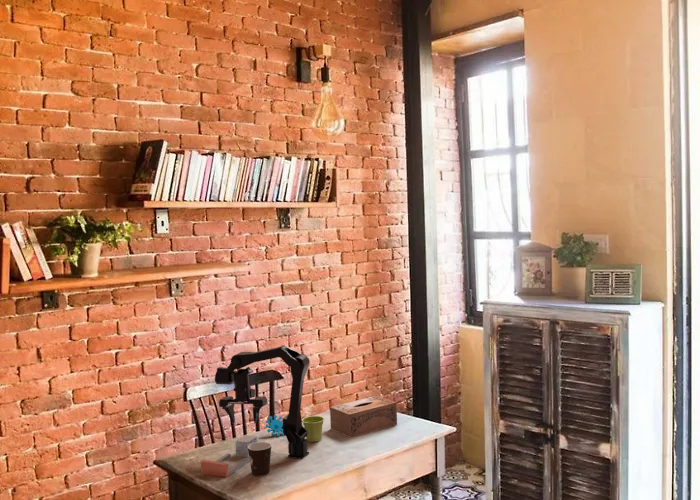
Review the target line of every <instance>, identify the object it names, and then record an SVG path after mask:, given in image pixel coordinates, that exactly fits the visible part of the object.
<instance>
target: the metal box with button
mask: <svg viewBox="0 0 700 500" xmlns="http://www.w3.org/2000/svg"><path fill="white" fill-rule="evenodd" d="M256 442H258V436H256V435H243V436H242V437H240V438H238V439H236V440H235V454H236V457H244V458H246V457H248V456H249V452H248V446H249V445H250V444H252V443H256Z"/></svg>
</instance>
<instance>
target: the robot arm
mask: <svg viewBox="0 0 700 500" xmlns="http://www.w3.org/2000/svg"><path fill="white" fill-rule="evenodd" d="M277 358H279V359H281V360H282V361H283V362H284V364H286V365H287V366H288V367H290V369H289V370H290V375H291V378H292V381H291V389H290V398H289V406H288V414H286V415H285V416H284V417H282V420H283V422H282V423H283V426H282V428H281V429H283V434H284V435H283V436H285V437H286V440H287V442H288V443H287V447H288V448H287V449H288V455H287V457H288V458H293V459H295V458H296V459H299V460H301V459H304V458H305V457H307V455H309V454H310V452H309V451H308V440H307V439H306V437H307V434H308V431H307V430H306V429H305V428H304V425H303V422H302V419H303V418H302V415H301V408H302V398H303V389H304V381H305V377H306V375H307V372H308V370H309V366H310V362H311V361H310V358H309V357H308V356H307V355H306V354H302V353H300V352H298V351H297V350H294V349H292V348H290V347H288V346H286V345H281V346H277V347H272V348H267V349H263V350H257V351H240V352H238V353H236V354H234V355H233V356H231V358H230V363H229V365H228V367H222V366H220V367H217V368H216V372H215V376H214V382H215V384H216V385H232V384H233V385H234V388H233V392H234V395H235V396H234V397H235V398H234V397H233V396H223V397H222V398H220V399H219V400H218V408H219V407H220V408H222V410H224V411H225V413H227V416H228V417H229V419H230V421H231V422H232V424H235V423H236V418H235V409H234V408H235V405H252V406H253V407H252V416H253V417H252V418H253V423H254V424H256V423H257V421H258V418H259V414H260V412H261V411H260V410H261V409H262V408H263V407H264V406H266V405H267V404H268V398H267V397H266V396H256V389H255V388H252V387H251V384H250V381H249V379H250V378H249V375H250V374H252V373H253V372H254V370H253V369H252V368H250V366H249V365H252V364H254V363H259V362H263V361H267V360H271V359H277ZM244 367H245V368H244Z"/></svg>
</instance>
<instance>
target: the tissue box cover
mask: <svg viewBox="0 0 700 500" xmlns="http://www.w3.org/2000/svg"><path fill="white" fill-rule="evenodd" d="M397 409H398V408H397V402H396V401H393V400H391V399H387V398H384V397H381V396H379V395H373V396H370V397H366V398H361V399H357V400H353V401H349V402H345V403H341V404H336V405H333V406H329V417H330V418H329V420H330V430H332V429H333V430H332V431H335V432H337V433H340V434H342V435H344V436H346V437H348V438H351V437H356V436H359V435H363V434H366V433H369V432H374V431H377V430H380V429H385V428H388V427H391V426H394V425H395V426H396V425H397V424H398V415H397V414H398V413H397V412H398V411H397Z"/></svg>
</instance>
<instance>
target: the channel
mask: <svg viewBox="0 0 700 500" xmlns="http://www.w3.org/2000/svg"><path fill="white" fill-rule="evenodd" d="M231 457H232V454H231V453H226V454H225V455H223V456H222V457H220V458H218V459H217V460H215V461H213V460H206V459H202V460H201V461H200V473H201V474H202V473H203V474H204V475H211V476H217V477H224V478H227V477H228V476H229V477H230V475H232V474H233V473H235V471H237V470H238V469H239V470H240V468H242V467H243V466H244V465H246V464H247V463H250V459H249V456H248V457H244V458H243V459H241V460H239V462H238V463H236V464H234V465H233V466H231V467H230V468H229V463H228V462H225V461H227V460H228V459H230V458H231Z"/></svg>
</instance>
